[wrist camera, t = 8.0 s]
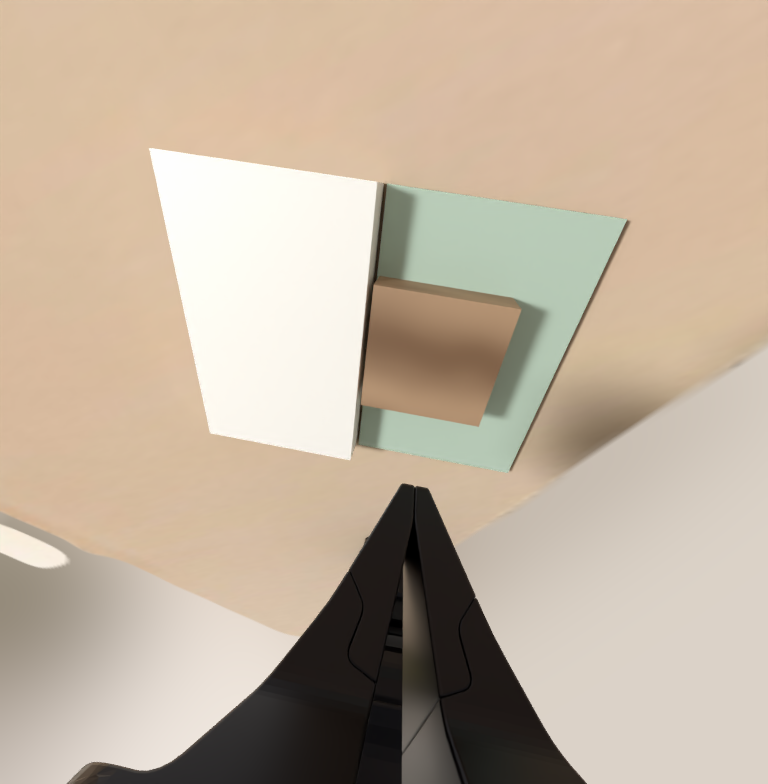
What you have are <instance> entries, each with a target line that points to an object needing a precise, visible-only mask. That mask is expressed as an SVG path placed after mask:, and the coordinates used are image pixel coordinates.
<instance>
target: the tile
mask: <svg viewBox="0 0 768 784" xmlns="http://www.w3.org/2000/svg"><path fill="white" fill-rule="evenodd" d="M521 310H522V309H521V308H520V307H519V305H518V304H517V303H516V301H515V300H514V298H511V297H505V296H499V295H493V294H487V293H481V292H475V291H469V290H463V289H457V288H451V287H445V286H439V285H433V284H427V283H421V282H415V281H409V280H403V279H396V278H390V277H384V276H379V278H378V279H377V281H376V282H375V284H374V286H373V295H372V305H371V314H370V323H369V332H368V342H367V351H366V360H365V370H364V379H363V388H362V397H361V405H364V406H369V407H375V408H380V409H385V410H391V411H396V412H402V413H407V414H412V415H418V416H423V417H429V418H434V419H439V420H445V421H450V422H455V423H461V424H466V425H472V426H477V427H479V425H480V422H481V420H482V417H483V414H484V411H485V409H486V406H487V403H488V400H489V398H490V395H491V392H492V389H493V387H494V384H495V381H496V378H497V376H498V373H499V370H500V367H501V365H502V362H503V359H504V357H505V354H506V351H507V348H508V346H509V343H510V340H511V337H512V335H513V332H514V329H515V326H516V324H517V321H518V318H519V315H520V313H521Z"/></svg>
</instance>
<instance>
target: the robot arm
mask: <svg viewBox="0 0 768 784" xmlns="http://www.w3.org/2000/svg"><path fill="white" fill-rule="evenodd" d="M67 784H587V783H586V782H585V781H584V780H583V779H582V778H581V776H580V775H579V774H578V773H577V772H576V771H575V770H574V769H573V767H572V766H571V765H570V764H569V763H568V761H567V760H566V759H565V758H564V756H563V755H562V754H561V752H560V751H559V750H558V748H557V747H556V745H555V744H554V743H553V741H552V740H551V738H550V736H549V735H548V733H547V731H546V730H545V728H544V727H543V725H542V723H541V721H540V719H539V717H538V716H537V714H536V712H535V710H534V709H533V707H532V705H531V703H530V701H529V700H528V698H527V696H526V694H525V692H524V690H523V689H522V687H521V685H520V683H519V681H518V680H517V678H516V676H515V674H514V672H513V670H512V669H511V667H510V665H509V663H508V662H507V660H506V658H505V656H504V654H503V652H502V650H501V648H500V646H499V645H498V643H497V641H496V639H495V637H494V635H493V633H492V631H491V629H490V626H489V624H488V622H487V620H486V618H485V616H484V614H483V611H482V609H481V607H480V604H479V602H478V600H477V599H476V598H475V593H474V591H473V589H472V587H471V584H470V582H469V580H468V578H467V575H466V573H465V571H464V568H463V566H462V564H461V561H460V559H459V557H458V555H457V552H456V550H455V548H454V546H453V543H452V541H451V539H450V536H449V534H448V532H447V530H446V527H445V525H444V523H443V520H442V518H441V516H440V514H439V511H438V509H437V507H436V505H435V502H434V500H433V498H432V495H431V493H430V491H429V489H428V488H424V487H419V486H416V487H414V486H413V485H409V484H401V485H400V487H399V489H398V490H397V492H396V493H395V495H394V497H393V498H392V500H391V502H390V503H389V505H388V507H387V508H386V510H385V511H384V513H383V515H382V516H381V518H380V520H379V521H378V523H377V524H376V526H375V528H374V529H373V531H372V533H371V534H370V536H369V537H367V538H366V539H365V543H364V546H363V547H362V549H361V551H360V552H359V554H358V556H357V557H356V559H355V560H354V562H353V564H352V565H351V567H350V569H349V572H347V573H346V575H345V576H344V578H343V580H342V581H341V583H340V584H339V586H338V587H337V589H336V591H335V592H334V594H333V595H332V597H331V598H330V600H329V601H328V602H327V604H326V605H325V606H324V608H323V609H322V610H321V612H320V613H319V614H318V616H317V617H316V618H315V620H314V621H313V622H312V623H311V625H310V626H309V627H308V628H307V630H306V631H305V632H304V633H303V635H302V636H301V637H300V638H299V640H298V641H297V642H296V643H295V645H294V646H293V647H292V649H291V650H290V651H289V652H288V653H287V655H286V656H285V657H284V659H283V660H282V661H281V662H280V663H279V665H278V666H277V667H276V668H275V669H274V671H273V672H272V673H271V674H270V675H269V676H268V677H267V678H266V679H265V680H264V682H263V683H262V684H261V685H260V686H259V687H258V688H257V689H256V690H255V691H254V692H253V693H251V694H250V695H249V696H248V697H247V698H246V699H244V700H243V701H242V702H241V703H240V704H239V705H238V706H236V707H235V708H234V709H233V710H232V711H231V712H230V713H228V714H227V715H226V716H225V717H224V718H223V719H221V720H220V721H219V722H218V723H217V724H216V725H215V726H213V728H212V729H210V730H209V731H208V732H207V733H205V734H204V735H203V736H202V737H201V738H200V739H198V740H197V741H196V742H195V743H194V744H193V745H192V746H191V747H189V748H188V749H187V750H186V751H185V752H184V753H183V754H181V755H180V756H178V757H177V758H176V759H174V760H173V761H172V762H170V763H168V764H166V765H164V766H162V767H160V768H156V769H153V770H149V771H139V770H134V769H130V768H126V767H122V766H118V765H114V764H108V763H101V762H92V763H89V764H87V765H85V766H84V767H83V768H82V769H81V770H80V771H79V772H78V773H77V774H76V775H75V776H74V777H73V778H72V779H71V780H70V781H69V782H68V783H67Z"/></svg>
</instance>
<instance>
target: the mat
mask: <svg viewBox="0 0 768 784" xmlns="http://www.w3.org/2000/svg"><path fill="white" fill-rule="evenodd" d="M626 221H627V219H622V218H615V217H608V216H602V215H595V214H588V213H582V212H575V211H568V210H561V209H555V208H548V207H541V206H534V205H528V204H521V203H514V202H508V201H501V200H494V199H487V198H481V197H474V196H467V195H461V194H454V193H447V192H440V191H434V190H427V189H420V188H413V187H407V186H400V185H393V184H387V190H386V200H385V209H384V218H383V227H382V236H381V245H380V254H379V263H378V272H377V279H378V278H379V276H384V277H390V278H396V279H403V280H409V281H415V282H421V283H427V284H433V285H439V286H445V287H451V288H457V289H463V290H469V291H475V292H481V293H487V294H493V295H499V296H505V297H511V298H514V300H515V301H516V303H517V304H518V305H519V307H520V308H521V309H522V310H521V313H520V315H519V318H518V321H517V324H516V326H515V329H514V332H513V335H512V337H511V340H510V343H509V346H508V348H507V351H506V354H505V357H504V359H503V362H502V365H501V367H500V370H499V373H498V376H497V378H496V381H495V384H494V387H493V389H492V392H491V395H490V398H489V400H488V403H487V406H486V409H485V411H484V414H483V417H482V420H481V422H480V425H479V427H477V426H472V425H466V424H461V423H455V422H450V421H445V420H439V419H434V418H429V417H423V416H418V415H412V414H407V413H402V412H396V411H391V410H385V409H380V408H375V407H369V406H364V405H363V409H362V418H361V427H360V436H359V445H364V446H369V447H374V448H380V449H385V450H390V451H395V452H401V453H406V454H411V455H416V456H422V457H427V458H432V459H437V460H443V461H448V462H453V463H458V464H464V465H469V466H474V467H479V468H485V469H490V470H495V471H500V472H506V473H508V471H509V469H510V467H511V465H512V463H513V461H514V459H515V457H516V454H517V452H518V450H519V448H520V446H521V444H522V442H523V440H524V438H525V435H526V433H527V431H528V429H529V427H530V425H531V423H532V421H533V418H534V416H535V414H536V412H537V410H538V408H539V406H540V404H541V401H542V399H543V397H544V395H545V393H546V391H547V389H548V387H549V384H550V382H551V380H552V378H553V376H554V374H555V372H556V370H557V367H558V365H559V363H560V361H561V359H562V357H563V355H564V353H565V350H566V348H567V346H568V344H569V342H570V340H571V338H572V336H573V333H574V331H575V329H576V327H577V325H578V323H579V321H580V319H581V316H582V314H583V312H584V310H585V308H586V306H587V304H588V302H589V299H590V297H591V295H592V293H593V291H594V289H595V287H596V285H597V282H598V280H599V278H600V276H601V274H602V272H603V270H604V268H605V265H606V263H607V261H608V259H609V257H610V255H611V253H612V251H613V248H614V246H615V244H616V242H617V240H618V238H619V236H620V234H621V231H622V229H623V227H624V225H625V223H626Z"/></svg>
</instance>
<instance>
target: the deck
mask: <svg viewBox="0 0 768 784" xmlns="http://www.w3.org/2000/svg"><path fill="white" fill-rule="evenodd" d="M149 149H150V154H151V159H152V163H153V168H154V173H155V177H156V182H157V187H158V191H159V196H160V201H161V205H162V210H163V215H164V219H165V224H166V229H167V234H168V238H169V243H170V248H171V252H172V257H173V262H174V266H175V271H176V276H177V280H178V285H179V290H180V294H181V299H182V304H183V308H184V313H185V318H186V322H187V327H188V332H189V336H190V341H191V346H192V351H193V355H194V360H195V365H196V369H197V374H198V379H199V383H200V388H201V393H202V397H203V402H204V407H205V411H206V416H207V421H208V425H209V430H210V433H212V434H217V435H222V436H227V437H233V438H238V439H243V440H248V441H253V442H258V443H264V444H269V445H274V446H279V447H284V448H289V449H295V450H300V451H305V452H310V453H315V454H320V455H326V456H331V457H336V458H341V459H346V460H351V457H352V454H353V451H354V448H355V445H356V442H357V434H358V424H359V415H360V405H361V396H362V386H363V377H364V367H365V358H366V348H367V339H368V329H369V320H370V310H371V301H372V291H373V282H374V272H375V263H376V253H377V244H378V234H379V225H380V215H381V206H382V196H383V187H384V183H381V182H375V181H368V180H362V179H355V178H348V177H341V176H335V175H328V174H321V173H315V172H308V171H301V170H294V169H288V168H281V167H274V166H268V165H261V164H254V163H247V162H241V161H234V160H227V159H220V158H214V157H207V156H200V155H194V154H187V153H180V152H173V151H167V150H160V149H153V148H149Z"/></svg>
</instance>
